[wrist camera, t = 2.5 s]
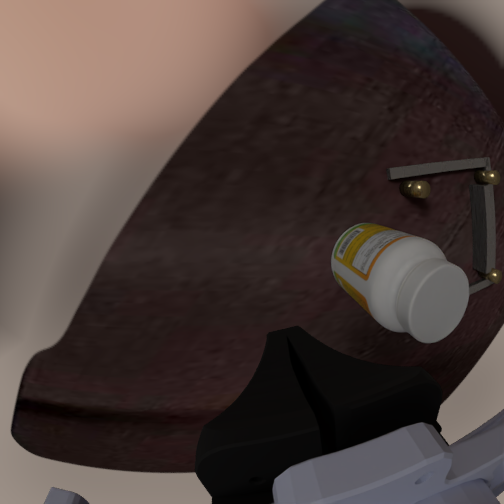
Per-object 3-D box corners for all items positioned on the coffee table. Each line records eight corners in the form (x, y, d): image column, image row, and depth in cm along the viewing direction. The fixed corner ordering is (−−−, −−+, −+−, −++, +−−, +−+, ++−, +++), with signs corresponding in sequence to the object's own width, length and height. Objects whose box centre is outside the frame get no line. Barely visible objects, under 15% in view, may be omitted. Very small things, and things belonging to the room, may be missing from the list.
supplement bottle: (391, 288, 22) (467, 343, 12) (328, 295, 21) (388, 367, 12) (394, 220, 20) (485, 246, 11) (329, 223, 20) (402, 253, 11)
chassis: (490, 281, 22) (506, 288, 20) (399, 319, 22) (414, 332, 20) (485, 157, 20) (503, 157, 17) (386, 168, 20) (403, 167, 17)
